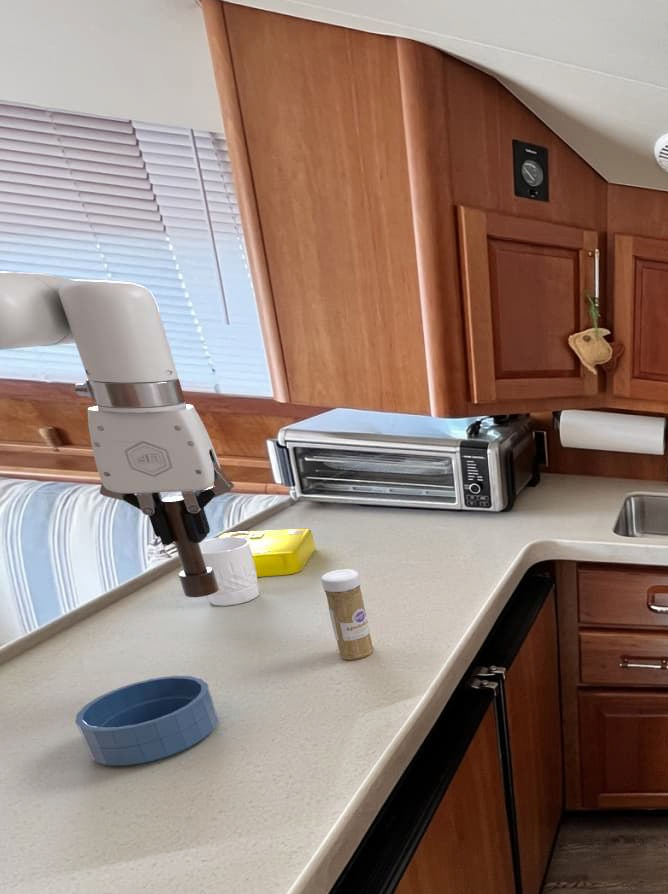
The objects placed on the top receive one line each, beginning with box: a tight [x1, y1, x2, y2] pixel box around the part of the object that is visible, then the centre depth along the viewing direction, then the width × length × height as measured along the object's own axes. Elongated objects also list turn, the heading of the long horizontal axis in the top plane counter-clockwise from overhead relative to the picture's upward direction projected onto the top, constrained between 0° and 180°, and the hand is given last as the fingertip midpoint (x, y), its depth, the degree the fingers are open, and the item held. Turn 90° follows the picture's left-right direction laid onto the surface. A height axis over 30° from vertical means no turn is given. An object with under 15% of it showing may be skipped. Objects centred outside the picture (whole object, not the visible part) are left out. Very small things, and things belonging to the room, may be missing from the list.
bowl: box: [74, 675, 219, 766], centre depth 77 cm, size 11×11×6 cm
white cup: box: [199, 537, 260, 607], centre depth 109 cm, size 8×8×10 cm
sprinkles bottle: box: [321, 568, 375, 661], centre depth 96 cm, size 5×5×14 cm
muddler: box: [161, 496, 219, 598], centre depth 82 cm, size 3×3×13 cm
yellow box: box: [217, 528, 316, 578], centre depth 123 cm, size 15×15×5 cm
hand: (185, 539), depth 82 cm, fingers closed on muddler, 2 cm apart
